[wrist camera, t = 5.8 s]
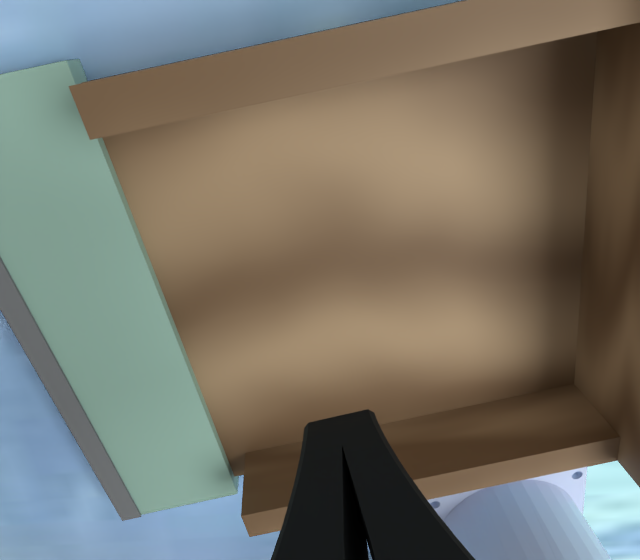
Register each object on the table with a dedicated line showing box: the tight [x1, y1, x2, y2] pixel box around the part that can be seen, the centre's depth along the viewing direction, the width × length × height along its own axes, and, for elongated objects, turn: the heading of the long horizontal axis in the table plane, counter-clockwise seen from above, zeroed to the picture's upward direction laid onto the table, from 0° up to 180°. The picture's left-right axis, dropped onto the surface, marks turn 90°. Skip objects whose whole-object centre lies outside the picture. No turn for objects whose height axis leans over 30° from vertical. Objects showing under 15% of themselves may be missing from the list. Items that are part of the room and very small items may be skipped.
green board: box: [0, 59, 239, 521], centre depth 17 cm, size 17×1×5 cm
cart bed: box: [68, 0, 640, 537], centre depth 15 cm, size 16×16×6 cm
